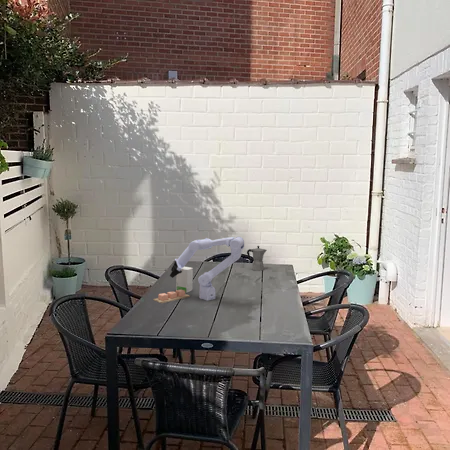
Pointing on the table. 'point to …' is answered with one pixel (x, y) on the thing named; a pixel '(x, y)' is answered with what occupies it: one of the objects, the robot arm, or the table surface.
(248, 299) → the table surface
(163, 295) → the tile three
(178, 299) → the board
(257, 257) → the coffeepot
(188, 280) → the skincare box
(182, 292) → the tile one
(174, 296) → the tile two
